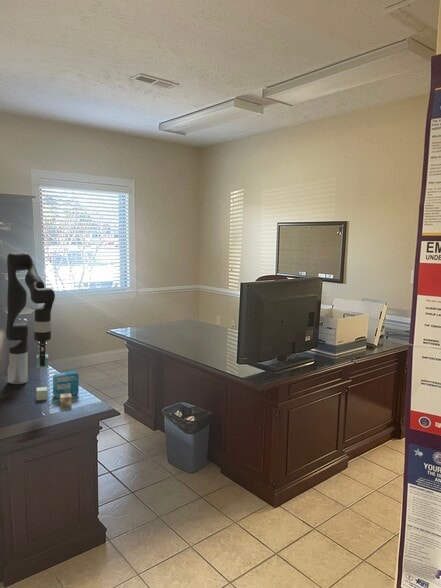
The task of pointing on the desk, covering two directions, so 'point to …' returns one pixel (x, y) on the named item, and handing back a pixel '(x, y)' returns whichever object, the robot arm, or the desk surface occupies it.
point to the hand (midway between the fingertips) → (42, 364)
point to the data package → (65, 383)
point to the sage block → (41, 393)
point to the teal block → (39, 362)
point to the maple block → (65, 400)
